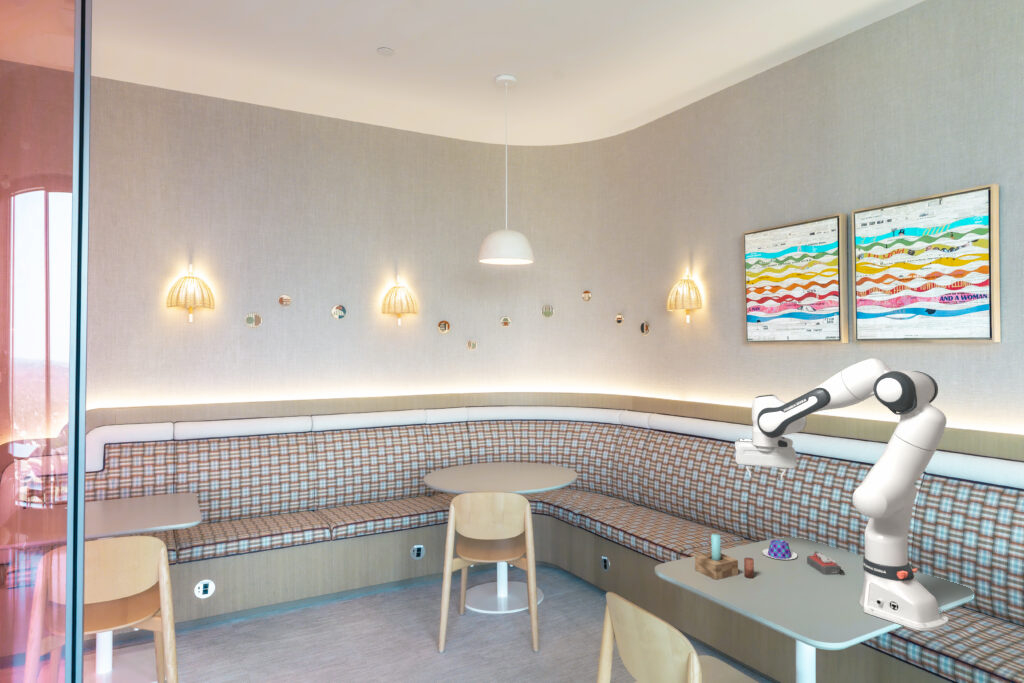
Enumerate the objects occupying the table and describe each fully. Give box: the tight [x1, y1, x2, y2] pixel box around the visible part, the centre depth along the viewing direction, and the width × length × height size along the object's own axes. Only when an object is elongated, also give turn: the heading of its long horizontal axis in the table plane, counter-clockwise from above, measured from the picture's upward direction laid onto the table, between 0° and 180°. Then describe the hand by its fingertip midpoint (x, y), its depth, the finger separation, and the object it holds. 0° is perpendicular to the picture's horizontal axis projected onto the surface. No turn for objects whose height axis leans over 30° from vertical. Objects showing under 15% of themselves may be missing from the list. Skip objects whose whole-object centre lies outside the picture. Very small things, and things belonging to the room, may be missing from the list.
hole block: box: [694, 551, 739, 581], centre depth 213 cm, size 10×10×5 cm
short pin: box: [743, 557, 755, 579], centre depth 208 cm, size 3×3×6 cm
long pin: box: [710, 533, 722, 561], centre depth 213 cm, size 3×3×13 cm
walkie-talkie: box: [806, 551, 845, 576], centre depth 218 cm, size 9×4×20 cm
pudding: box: [761, 539, 798, 561], centre depth 228 cm, size 12×12×5 cm
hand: (766, 478), depth 217 cm, fingers open, 8 cm apart
